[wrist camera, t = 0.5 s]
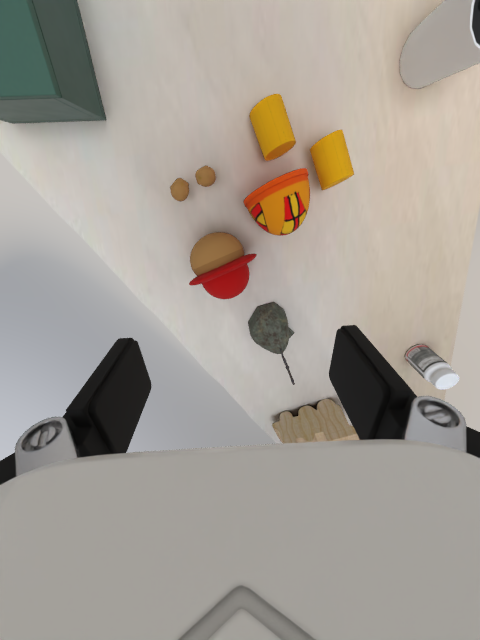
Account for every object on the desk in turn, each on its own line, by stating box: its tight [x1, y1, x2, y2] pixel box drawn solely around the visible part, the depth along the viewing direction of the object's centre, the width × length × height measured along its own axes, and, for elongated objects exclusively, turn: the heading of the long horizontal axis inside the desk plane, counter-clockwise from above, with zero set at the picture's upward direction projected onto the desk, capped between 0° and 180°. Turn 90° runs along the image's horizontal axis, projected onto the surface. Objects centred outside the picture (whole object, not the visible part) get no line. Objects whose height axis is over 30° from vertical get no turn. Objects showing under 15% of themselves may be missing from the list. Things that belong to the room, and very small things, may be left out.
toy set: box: [170, 94, 354, 299], centre depth 31 cm, size 25×11×19 cm
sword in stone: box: [248, 302, 295, 385], centre depth 40 cm, size 10×8×12 cm
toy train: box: [272, 399, 360, 444], centre depth 53 cm, size 6×17×10 cm, turn 113°
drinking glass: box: [400, 0, 480, 88], centre depth 23 cm, size 7×7×10 cm
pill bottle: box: [405, 345, 459, 390], centre depth 46 cm, size 5×5×8 cm
